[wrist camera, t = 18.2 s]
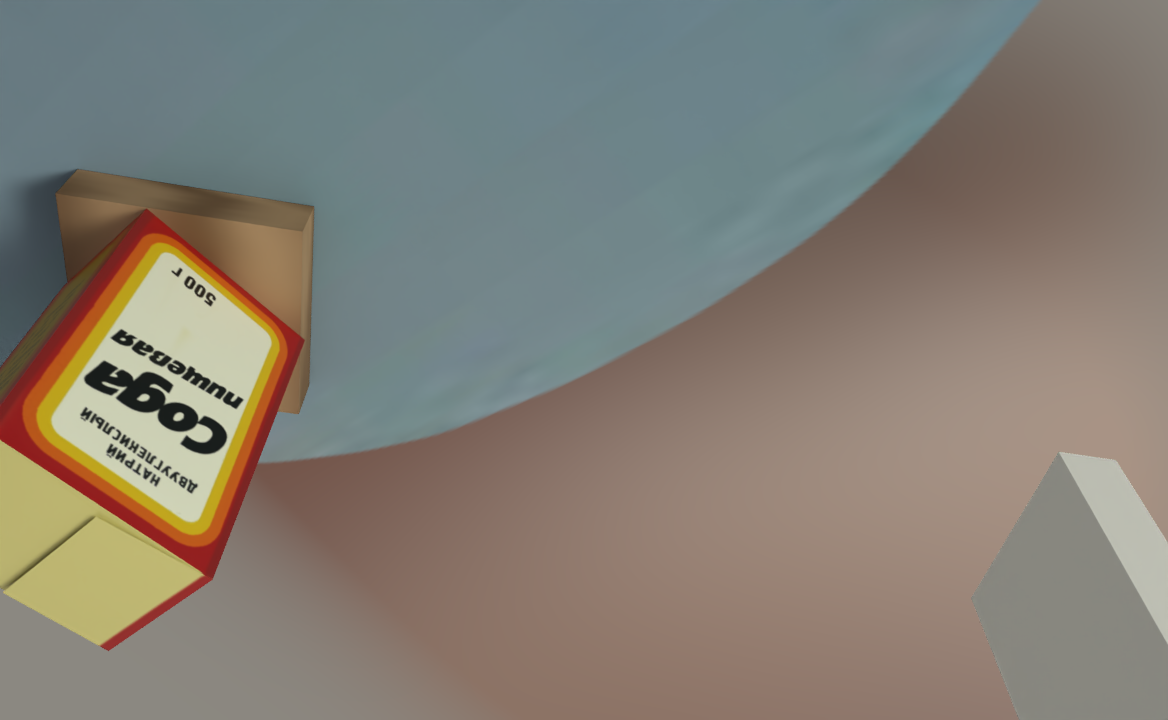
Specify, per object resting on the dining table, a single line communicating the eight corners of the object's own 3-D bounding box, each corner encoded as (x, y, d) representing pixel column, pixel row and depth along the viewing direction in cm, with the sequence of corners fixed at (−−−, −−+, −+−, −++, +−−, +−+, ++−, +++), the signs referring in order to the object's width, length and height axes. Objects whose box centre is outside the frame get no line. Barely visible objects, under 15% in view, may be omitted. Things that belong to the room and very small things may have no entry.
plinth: (100, 355, 55) (81, 384, 53) (77, 169, 48) (55, 193, 46) (309, 385, 56) (298, 414, 54) (314, 206, 49) (302, 231, 47)
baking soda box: (63, 286, 49) (-124, 526, 36) (146, 208, 47) (-23, 436, 34) (221, 405, 53) (104, 658, 40) (304, 340, 51) (209, 587, 38)
